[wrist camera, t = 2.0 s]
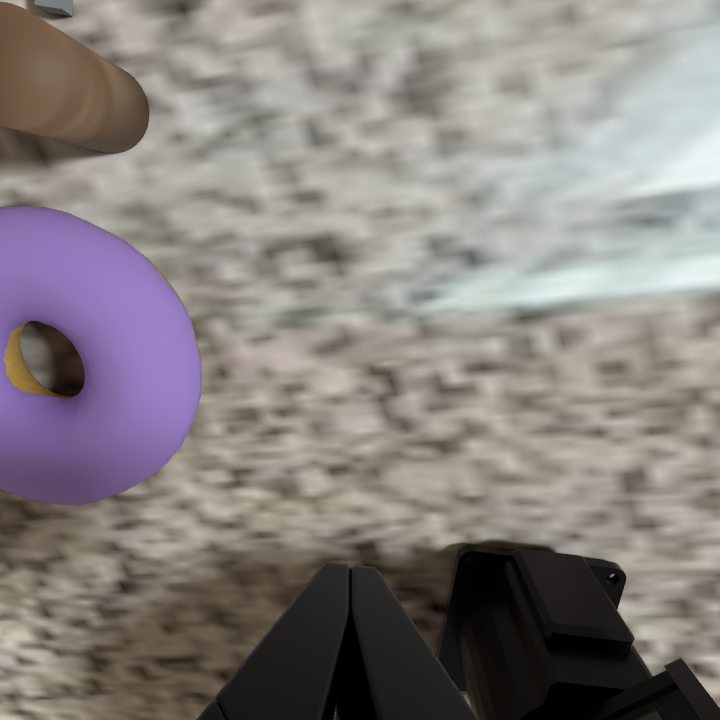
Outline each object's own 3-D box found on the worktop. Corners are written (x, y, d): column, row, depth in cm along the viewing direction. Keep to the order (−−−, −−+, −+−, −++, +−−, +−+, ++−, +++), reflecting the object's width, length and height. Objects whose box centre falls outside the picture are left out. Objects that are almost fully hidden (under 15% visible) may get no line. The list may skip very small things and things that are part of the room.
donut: (275, 346, 19) (221, 414, 14) (137, 487, 22) (60, 575, 18) (41, 131, 17) (-102, 133, 13) (-68, 321, 21) (-209, 374, 16)
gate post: (147, 158, 17) (64, 135, 13) (67, 147, 17) (-48, 120, 13) (150, 70, 17) (64, 10, 12) (66, 58, 17) (-55, -7, 12)
